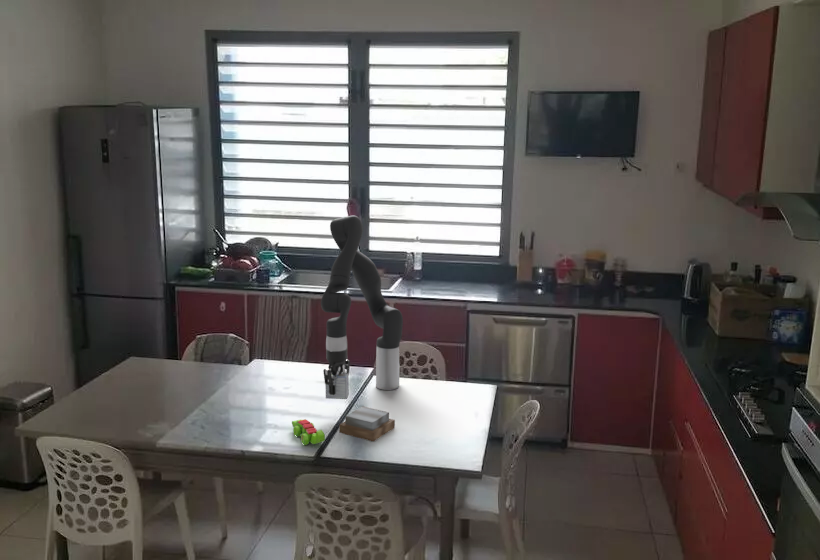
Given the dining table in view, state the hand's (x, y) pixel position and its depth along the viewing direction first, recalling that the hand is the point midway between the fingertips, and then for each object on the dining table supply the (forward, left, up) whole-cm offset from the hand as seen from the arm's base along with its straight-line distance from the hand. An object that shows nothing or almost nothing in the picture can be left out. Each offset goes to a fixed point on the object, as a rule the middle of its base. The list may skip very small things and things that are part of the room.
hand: (337, 391), depth 279 cm
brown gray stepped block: (+5, +16, -9) cm, 20 cm away
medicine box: (0, 0, -2) cm, 2 cm away
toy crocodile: (+22, +3, -10) cm, 24 cm away
